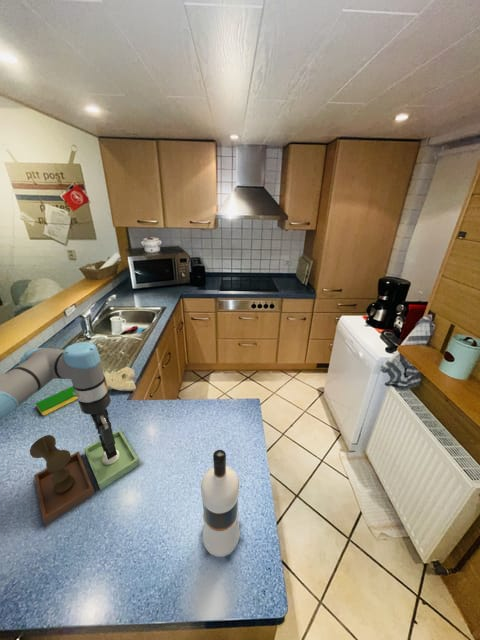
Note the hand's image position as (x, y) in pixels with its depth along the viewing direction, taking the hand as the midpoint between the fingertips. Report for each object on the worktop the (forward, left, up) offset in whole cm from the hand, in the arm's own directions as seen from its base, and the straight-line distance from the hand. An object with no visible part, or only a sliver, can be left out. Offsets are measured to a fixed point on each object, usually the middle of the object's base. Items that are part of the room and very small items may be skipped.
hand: (110, 452), depth 80 cm
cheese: (-33, +13, -4) cm, 36 cm away
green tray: (0, 0, -3) cm, 3 cm away
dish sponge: (-41, -7, -4) cm, 42 cm away
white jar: (0, 0, -3) cm, 3 cm away
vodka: (+40, +13, -4) cm, 42 cm away
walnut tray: (0, -13, -3) cm, 13 cm away
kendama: (0, -13, -3) cm, 13 cm away
